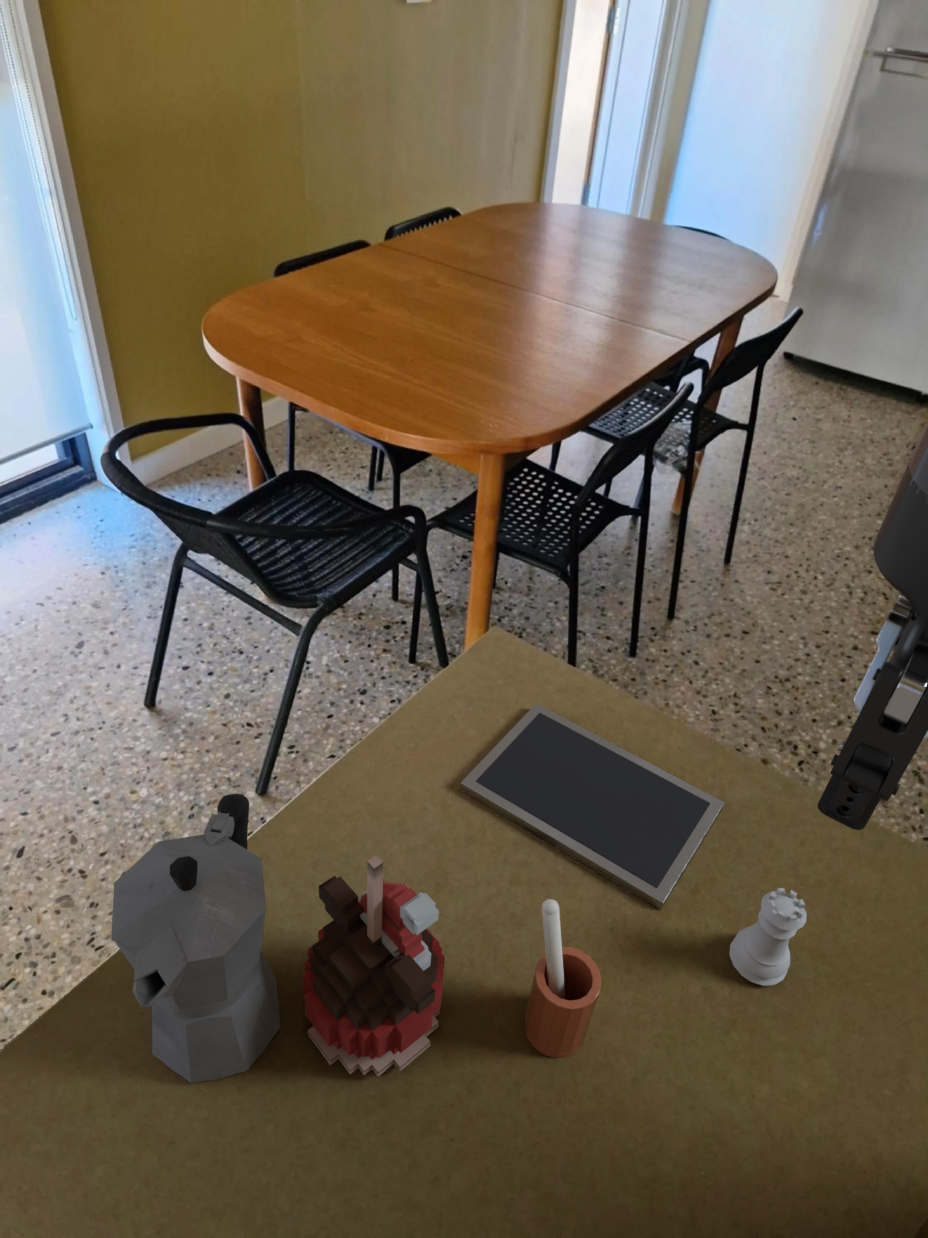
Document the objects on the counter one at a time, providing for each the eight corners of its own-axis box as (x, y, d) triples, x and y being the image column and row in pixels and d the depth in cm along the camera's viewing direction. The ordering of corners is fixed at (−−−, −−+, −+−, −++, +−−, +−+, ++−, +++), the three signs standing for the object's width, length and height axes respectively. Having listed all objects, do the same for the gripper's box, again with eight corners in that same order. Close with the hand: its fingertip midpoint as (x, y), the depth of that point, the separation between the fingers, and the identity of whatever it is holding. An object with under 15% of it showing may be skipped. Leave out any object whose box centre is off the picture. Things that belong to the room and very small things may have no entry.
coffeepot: (250, 1130, 57) (221, 986, 46) (110, 1103, 58) (47, 956, 46) (316, 919, 69) (305, 764, 58) (199, 899, 70) (166, 742, 58)
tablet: (722, 809, 80) (725, 801, 80) (660, 910, 72) (663, 902, 71) (535, 710, 89) (536, 702, 88) (459, 789, 80) (460, 781, 79)
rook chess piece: (716, 957, 69) (743, 898, 64) (750, 925, 71) (779, 866, 66) (764, 1001, 66) (796, 943, 61) (797, 966, 69) (831, 908, 64)
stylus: (570, 1024, 63) (562, 899, 56) (562, 1036, 63) (553, 912, 56) (556, 1016, 64) (547, 892, 57) (548, 1028, 63) (538, 904, 56)
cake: (277, 997, 64) (257, 844, 53) (380, 923, 69) (382, 769, 58) (366, 1118, 58) (365, 975, 47) (471, 1027, 63) (494, 879, 52)
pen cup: (596, 1021, 64) (612, 971, 60) (565, 1071, 61) (580, 1022, 57) (544, 986, 66) (556, 934, 62) (512, 1033, 63) (523, 982, 59)
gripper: (1101, 610, 28) (905, 902, 38) (1136, 448, 37) (971, 718, 48) (864, 523, 31) (742, 815, 41) (951, 394, 41) (834, 658, 51)
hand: (865, 763), depth 45 cm, fingers open, 8 cm apart
